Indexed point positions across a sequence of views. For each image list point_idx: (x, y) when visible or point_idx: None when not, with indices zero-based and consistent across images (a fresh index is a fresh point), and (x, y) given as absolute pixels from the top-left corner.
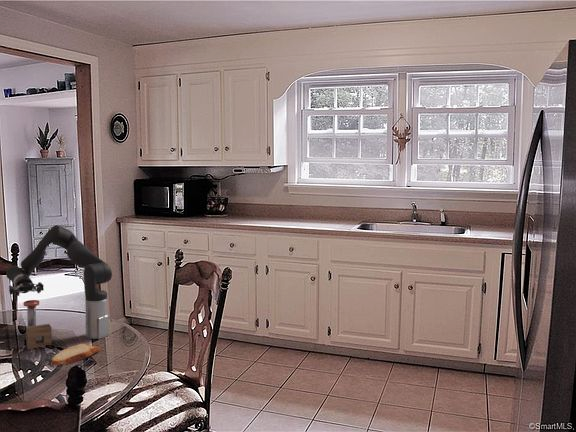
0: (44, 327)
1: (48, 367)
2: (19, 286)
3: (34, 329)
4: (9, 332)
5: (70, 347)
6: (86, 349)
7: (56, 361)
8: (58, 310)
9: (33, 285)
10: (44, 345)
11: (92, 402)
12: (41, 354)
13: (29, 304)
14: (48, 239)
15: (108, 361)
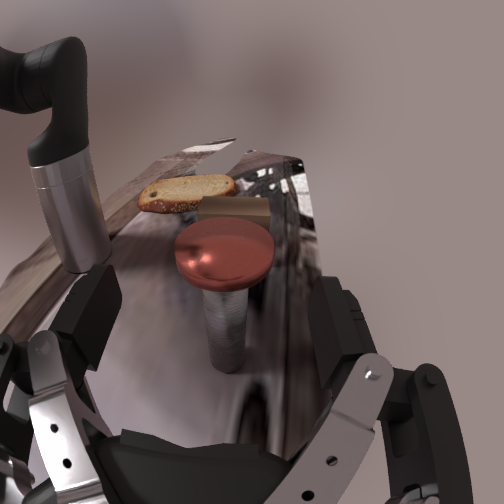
0: (220, 199)
1: (243, 185)
2: (328, 418)
3: (250, 197)
4: (313, 418)
5: (185, 199)
6: (165, 190)
7: (230, 177)
8: None
9: (70, 399)
10: None
11: (225, 142)
12: None
13: (244, 222)
14: None
15: (159, 176)
